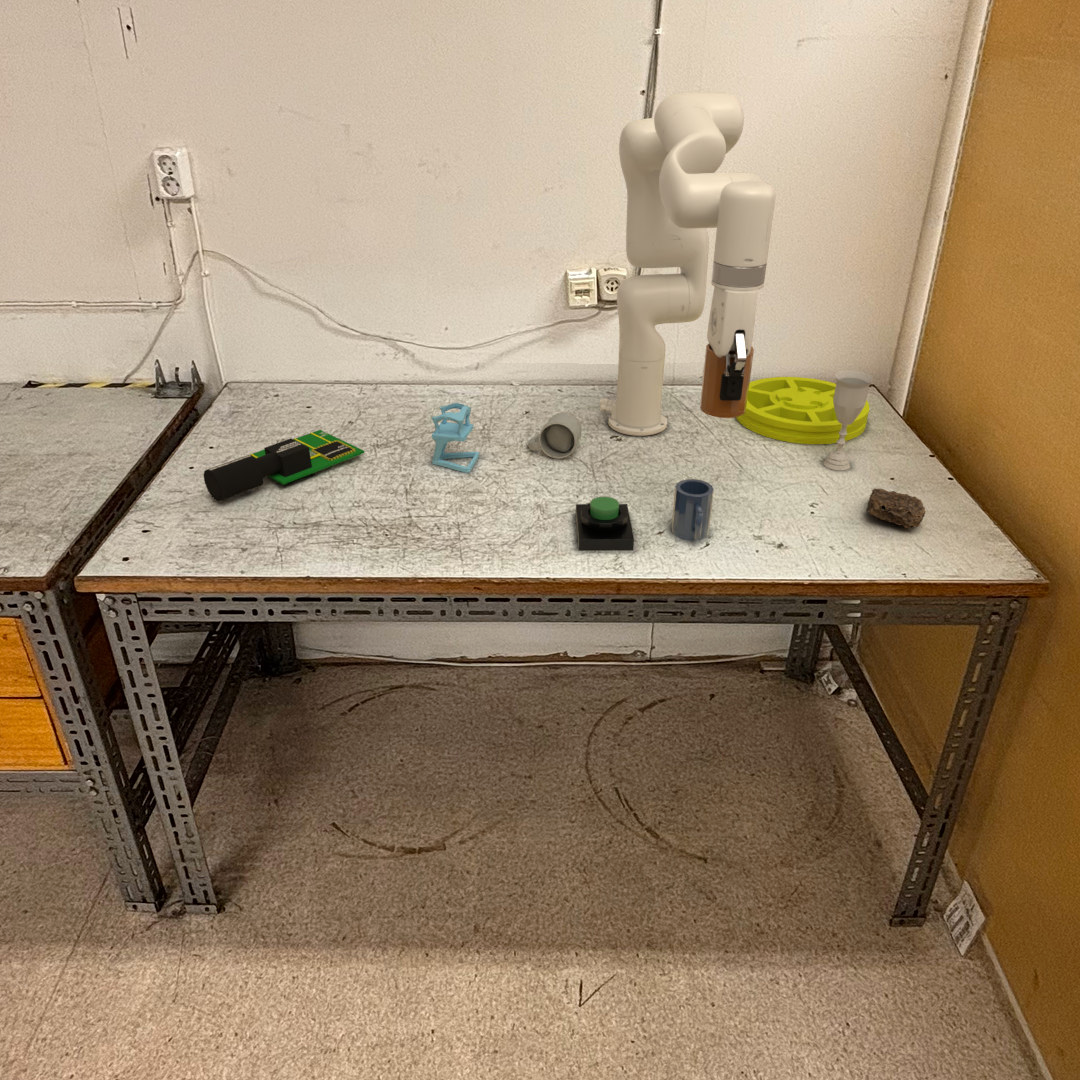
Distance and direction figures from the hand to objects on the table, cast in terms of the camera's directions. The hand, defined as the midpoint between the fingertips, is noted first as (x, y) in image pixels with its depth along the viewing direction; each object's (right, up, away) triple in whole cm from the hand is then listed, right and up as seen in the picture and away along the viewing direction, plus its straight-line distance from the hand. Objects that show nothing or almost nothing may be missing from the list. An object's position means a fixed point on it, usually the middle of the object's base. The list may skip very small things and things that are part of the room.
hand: (724, 389), depth 134 cm
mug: (-3, -23, +12) cm, 26 cm away
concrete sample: (+33, -20, +17) cm, 42 cm away
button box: (-18, -22, +13) cm, 31 cm away
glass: (0, -3, +2) cm, 3 cm away
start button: (-18, -19, +11) cm, 28 cm away
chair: (-46, -8, +36) cm, 59 cm away
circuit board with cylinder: (-79, -10, +33) cm, 86 cm away
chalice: (+30, -9, +35) cm, 47 cm away
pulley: (+28, +3, +55) cm, 62 cm away
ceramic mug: (-26, -6, +41) cm, 49 cm away
